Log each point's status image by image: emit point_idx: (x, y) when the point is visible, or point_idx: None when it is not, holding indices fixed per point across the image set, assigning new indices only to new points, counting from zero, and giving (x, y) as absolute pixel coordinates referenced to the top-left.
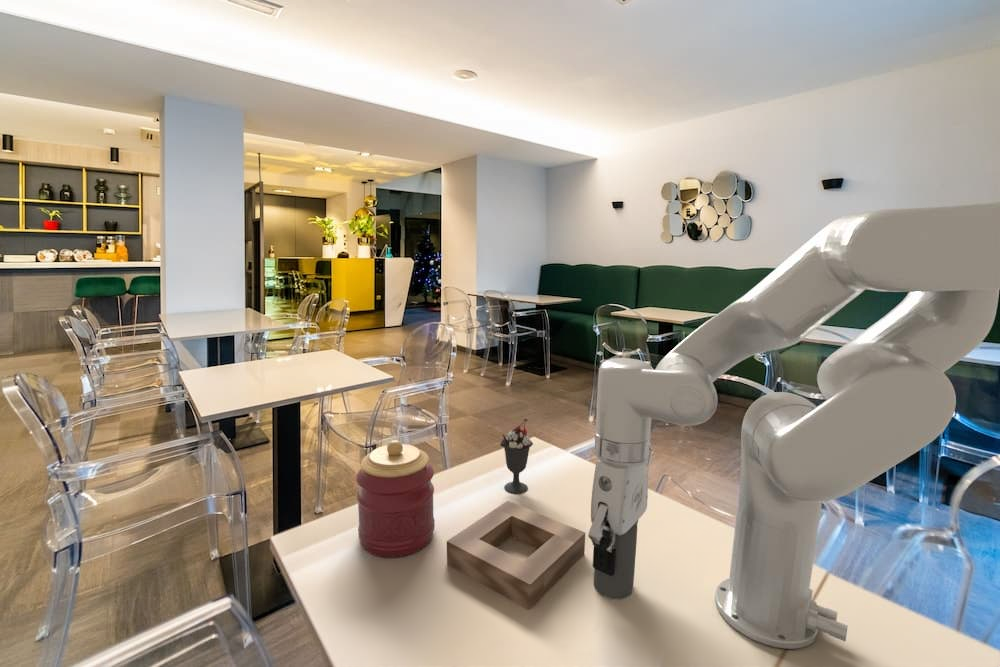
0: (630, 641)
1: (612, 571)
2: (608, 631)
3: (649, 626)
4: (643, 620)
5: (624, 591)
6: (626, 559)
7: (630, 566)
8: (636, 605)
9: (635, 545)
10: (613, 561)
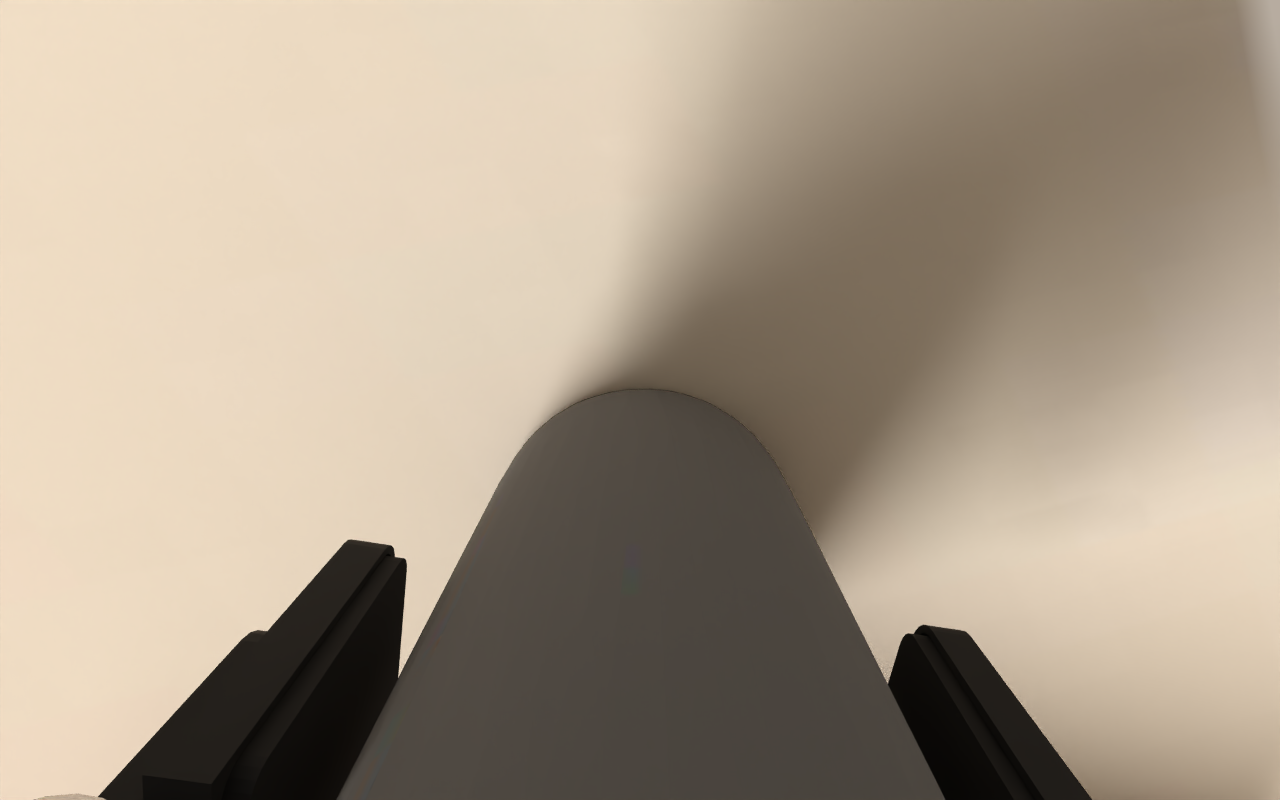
0: (1159, 277)
1: (983, 667)
2: (1115, 435)
3: (956, 183)
4: (910, 239)
5: (755, 445)
6: (840, 618)
7: (747, 515)
8: (770, 324)
9: (661, 634)
10: (1055, 764)
